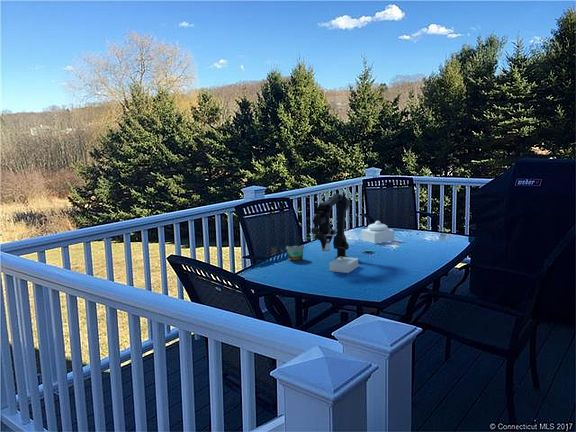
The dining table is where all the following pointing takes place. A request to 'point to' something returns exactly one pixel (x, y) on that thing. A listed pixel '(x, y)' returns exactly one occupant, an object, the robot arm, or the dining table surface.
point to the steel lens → (327, 246)
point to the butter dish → (377, 233)
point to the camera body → (343, 264)
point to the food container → (295, 253)
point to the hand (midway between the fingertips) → (325, 247)
